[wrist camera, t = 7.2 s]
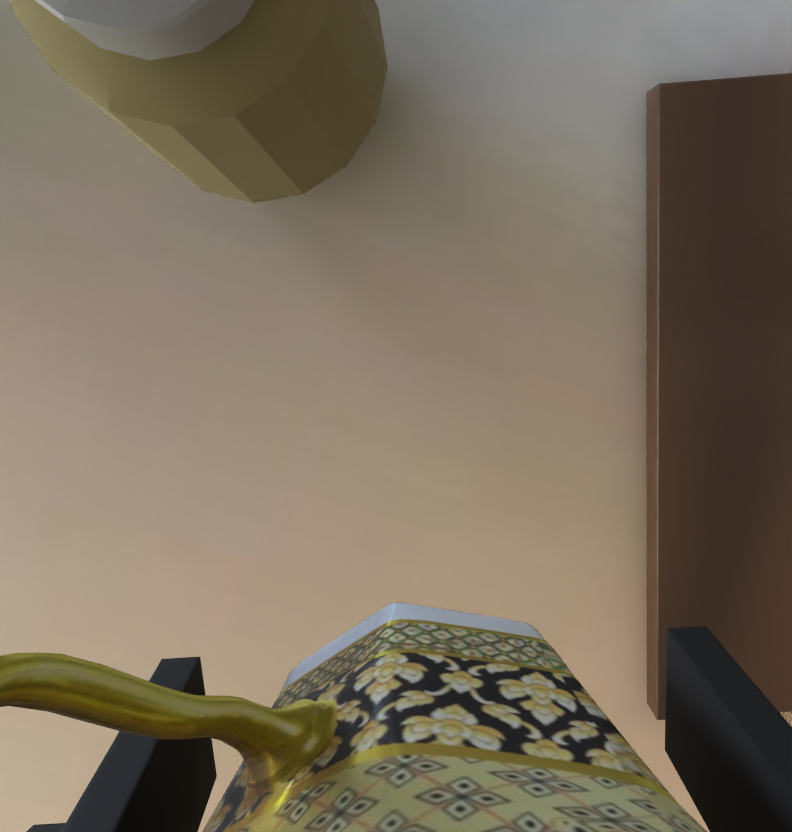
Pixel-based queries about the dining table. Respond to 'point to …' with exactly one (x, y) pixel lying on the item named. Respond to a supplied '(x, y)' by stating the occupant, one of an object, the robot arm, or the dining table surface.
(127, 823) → the robot arm
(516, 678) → the ceramic cup
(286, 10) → the squeeze bottle
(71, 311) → the dining table surface
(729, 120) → the serving board
